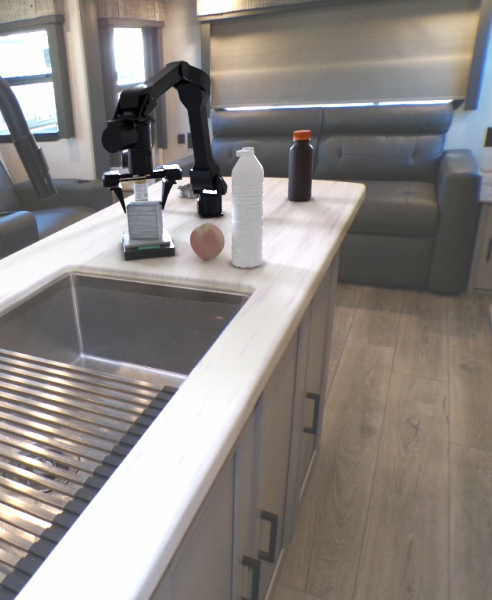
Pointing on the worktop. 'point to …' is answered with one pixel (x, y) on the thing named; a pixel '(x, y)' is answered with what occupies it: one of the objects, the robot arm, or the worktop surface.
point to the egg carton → (187, 191)
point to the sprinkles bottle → (140, 190)
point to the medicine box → (145, 219)
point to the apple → (207, 241)
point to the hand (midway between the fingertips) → (144, 211)
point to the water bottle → (247, 210)
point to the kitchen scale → (147, 247)
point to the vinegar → (300, 167)
